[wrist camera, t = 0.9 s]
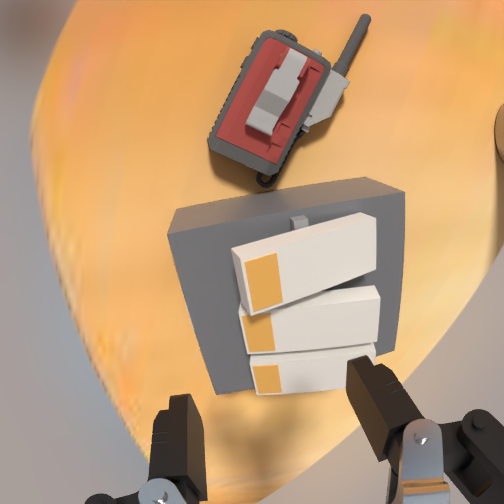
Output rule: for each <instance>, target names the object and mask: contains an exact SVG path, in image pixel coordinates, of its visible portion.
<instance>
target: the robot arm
mask: <svg viewBox="0 0 504 504" xmlns="http://www.w3.org/2000/svg"><path fill="white" fill-rule="evenodd" d="M495 137H496V144H497V149H498V152H499V155H500V157H501V159H502V161H503V162H504V104H503V105H502V106H501V108H500V110H499V112H498V114H497V118H496V125H495ZM346 392H347V396H348V399H349V401H350V403H351V405H352V407H353V409H354V411H355V413H356V415H357V417H358V419H359V422H360V424H361V426H362V428H363V430H364V432H365V434H366V436H367V438H368V440H369V442H370V444H371V446H372V449H373V451H374V453H375V455H376V457H377V459H378V461H379V462H380V461H383V460H386V459H388V461H389V463H390V465H391V466H390V469H389V478H388V487H387V496H386V504H449V503H450V489H449V485H448V483H446V482H444V476H443V473H444V472H445V473H446V475H447V476H448V477H449V478H450V479H451V481H452V482H453V483H454V484H455V486H456V487H457V488H458V489H459V490H460V491H461V493H462V494H463V495H464V496H465V498H466V499H467V500H468V501H469V503H470V504H504V426H503V425H502V424H501V423H500V422H499V421H498V420H497V419H495V418H494V417H493V416H492V415H491V414H490V413H489V412H487V411H485V410H481V409H476V410H472V411H470V412H468V413H467V414H466V415H465V416H464V418H463V420H462V421H457V422H452V423H446V424H437V423H435V422H434V421H432V420H429V419H425V418H424V417H423V416H422V414H421V413H420V411H419V410H418V409H417V407H416V405H415V404H414V402H413V401H412V399H411V398H410V396H409V395H408V393H407V392H406V391H405V389H403V386H402V384H401V383H400V381H398V379H397V377H396V376H395V374H394V373H393V371H392V370H391V369H389V368H388V367H386V366H385V365H383V364H382V363H381V364H378V365H375V366H374V365H373V363H372V361H371V360H370V358H369V357H368V356H367V355H364V356H360V357H357V358H354V359H350V360H348V361H347V372H346ZM152 433H153V435H152V444H151V453H150V465H149V477H148V481H147V482H146V483H145V484H144V485H143V486H142V487H141V488H140V490H139V491H138V492H136V493H134V494H131V495H128V496H123V497H120V498H116V499H113V498H112V497H111V496H109V495H107V494H95V495H93V496H91V497H89V498H88V499H87V500H86V502H85V504H199V501H208V498H207V484H206V467H205V447H204V428H203V423H202V419H201V416H200V414H199V412H198V410H197V407H196V405H195V403H194V401H193V398H192V396H191V394H182V395H174V396H170V400H169V410H160V411H159V413H158V414H157V416H156V418H155V420H154V423H153V432H152Z"/></svg>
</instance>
